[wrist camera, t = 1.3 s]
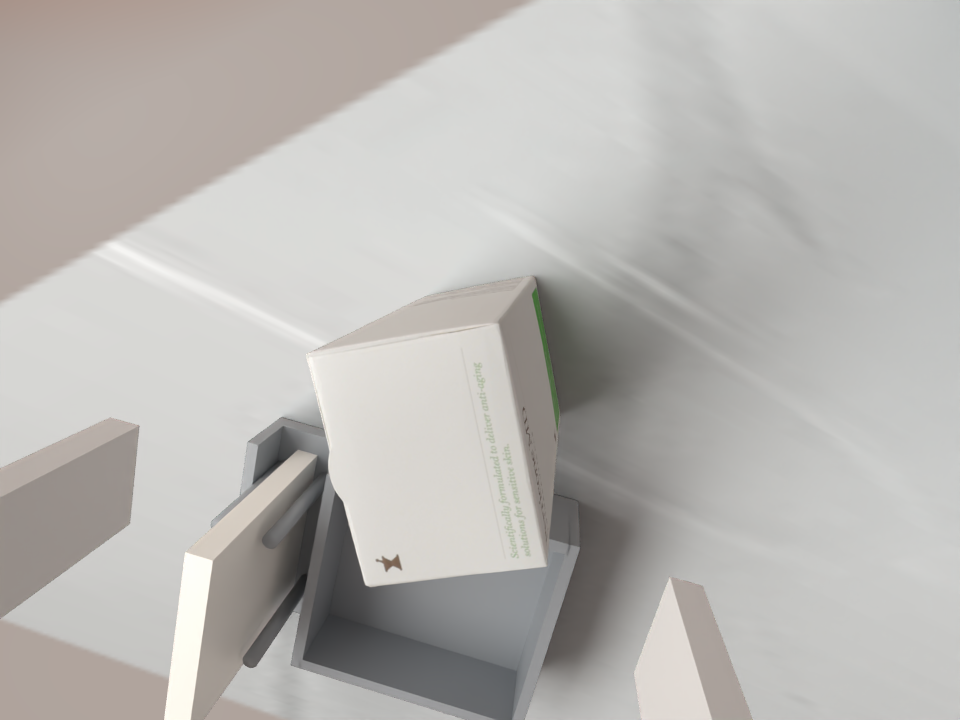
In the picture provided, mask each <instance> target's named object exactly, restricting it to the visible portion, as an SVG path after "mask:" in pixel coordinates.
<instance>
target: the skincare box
mask: <svg viewBox="0 0 960 720" xmlns="http://www.w3.org/2000/svg"><path fill="white" fill-rule="evenodd" d="M306 359H307V362H308V365H309V368H310V372H311V376H312V380H313V384H314V388H315V393H316V397H317V401H318V405H319V409H320V413H321V418H322V422H323V426H324V430H325V434H326V438H327V442H328V447H329V451H330V453H329V459H328V470H329V475H330V479H331V482H332V485H333V487H334V490H335V491H336V493H337V494H338V496H339V497H340V498H341V500H342V501H343V503H344V507H345V511H346V515H347V519H348V522H349V526H350V530H351V534H352V538H353V541H354V545H355V549H356V553H357V557H358V560H359V564H360V567H361V571H362V575H363V579H364V582H365V585H366V586H369V587H375V586H382V585H391V584H400V583H408V582H417V581H425V580H433V579H440V578H448V577H456V576H464V575H473V574H483V573H493V572H503V571H513V570H522V569H531V568H540V567H547V565H548V548H549V533H550V525H551V514H552V502H553V492H554V480H555V468H556V457H557V446H558V436H559V425H560V416H561V415H560V408H559V403H558V398H557V392H556V386H555V381H554V375H553V370H552V365H551V359H550V354H549V349H548V344H547V339H546V334H545V328H544V323H543V318H542V313H541V307H540V301H539V296H538V290H537V284H536V279H535V277H534V276H526V277H520V278H514V279H509V280H504V281H498V282H493V283H488V284H483V285H478V286H473V287H468V288H463V289H458V290H453V291H448V292H443V293H439V294H434V295H429V296H425V297H423V298H421V299H418V300H416V301H414V302H412V303H410V304H408V305H406V306H404V307H402V308H400V309H398V310H396V311H394V312H392V313H390V314H388V315H386V316H384V317H382V318H380V319H378V320H375V321H373V322H371V323H369V324H367V325H365V326H363V327H361V328H360V329H357V330H355V331H353V332H351V333H349V334H347V335H345V336H343V337H341V338H339V339H337V340H335V341H333V342H331V343H329V344H326V345H324V346H322V347H320V348H318V349H316V350H314V351H311V352H309V353H307V355H306Z"/></svg>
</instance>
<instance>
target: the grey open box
mask: <svg viewBox="0 0 960 720" xmlns="http://www.w3.org/2000/svg"><path fill="white" fill-rule="evenodd" d="M329 453H330V451H329V447H328V442H327V438H326V434H325V430H324V429H321V428H317V427H314V426H310V425H307V424H303V423H300V422H296V421H293V420H289V419H286V418H282V417H281V418H279V419H278V420H277V421H275V422H274V423H273V424H271V425H270V426H269V427H267V428H266V429H265V430H263V431H262V432H260V433H259V434H258V435H256V436H255V437H254V438H252V439H251V440H250V441H248V442H247V449H246V456H245V463H244V469H243V476H242V483H241V489H240V496H239V497H238V498H237V499H236V500H235V501H233V502H232V503H231V504H230V505H229V506H228V507H227V508H226V509H224V510H223V511H222V512H221V513H220V514H219V515H218V516H217V517H215V518H214V519H213V520H212V521H211V529H210V530H209V531H208V532H207V533H206V534H205V535H204V536H203V537H202V538H200V539H199V540H198V541H197V542H196V543H195V544H194V545H193V546H192V547H191V548H189V549H188V550H187V551H186V552H185V558H184V566H183V574H182V582H181V590H180V598H179V606H178V614H177V622H176V630H175V638H174V646H173V654H172V662H171V670H170V678H169V686H168V694H167V702H166V710H165V718H164V720H204V719H205V717H206V716H207V715H208V713H209V712H210V710H211V709H212V708H213V706H214V705H215V703H216V702H217V701H218V699H219V698H220V696H221V695H222V693H223V692H224V691H225V689H226V688H227V686H228V685H229V684H230V682H231V681H232V679H233V678H234V676H235V675H236V674H237V672H238V671H239V669H240V668H241V666H242V665H243V664H244V665H245V666H247V667H249V668H254V667H256V666H257V664H258V663H259V661H260V660H261V658H262V657H263V655H264V654H265V652H266V651H267V649H268V648H269V646H270V645H271V643H272V642H273V640H274V639H275V637H276V636H277V634H278V633H279V631H280V630H281V628H282V627H283V625H284V624H285V622H286V621H287V619H288V618H289V616H290V615H291V613H292V612H296V613H300V618H299V623H298V628H297V634H296V639H295V644H294V650H293V655H292V660H291V666H294V667H298V668H301V669H304V670H307V671H311V672H314V673H317V674H320V675H323V676H327V677H330V678H333V679H336V680H340V681H343V682H346V683H349V684H352V685H356V686H359V687H362V688H365V689H369V690H372V691H375V692H378V693H381V694H385V695H388V696H391V697H394V698H397V699H401V700H404V701H407V702H410V703H414V704H417V705H420V706H423V707H426V708H430V709H433V710H436V711H439V712H443V713H446V714H449V715H452V716H455V717H459V718H462V719H465V720H525V717H526V714H527V711H528V708H529V705H530V702H531V699H532V695H533V692H534V689H535V686H536V683H537V680H538V677H539V674H540V671H541V668H542V665H543V661H544V658H545V655H546V652H547V649H548V646H549V643H550V640H551V637H552V634H553V631H554V627H555V624H556V621H557V618H558V615H559V612H560V609H561V606H562V603H563V600H564V597H565V593H566V590H567V587H568V584H569V581H570V578H571V575H572V572H573V569H574V566H575V563H576V559H577V556H578V553H579V550H580V531H579V510H578V501H576V500H573V499H569V498H566V497H562V496H559V495H555V494H553V502H552V514H551V525H550V533H549V548H548V565H547V567H540V568H531V569H522V570H513V571H503V572H493V573H483V574H473V575H464V576H456V577H448V578H440V579H433V580H425V581H417V582H408V583H400V584H391V585H382V586H375V587H369V586H366V585H365V582H364V579H363V575H362V571H361V567H360V564H359V560H358V557H357V553H356V549H355V545H354V541H353V538H352V534H351V530H350V526H349V522H348V519H347V515H346V511H345V507H344V503H343V501H342V500H341V498H340V497H339V496H338V494H337V493H336V491H335V490H334V487H333V485H332V482H331V479H330V475H329V470H328V459H329Z"/></svg>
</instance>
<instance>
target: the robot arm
mask: <svg viewBox="0 0 960 720" xmlns="http://www.w3.org/2000/svg"><path fill="white" fill-rule="evenodd" d="M138 435H139V425H135V424H132V423H128V422H125V421H121V420H118V419H114V418H111V417H110V418H108V419H106V420H104V421H102V422H99V423H97V424H95V425H93V426H91V427H89V428H86V429H84V430H82V431H80V432H78V433H76V434H73V435H71V436H69V437H67V438H65V439H63V440H61V441H58V442H56V443H54V444H52V445H50V446H48V447H45V448H43V449H41V450H39V451H37V452H35V453H32V454H30V455H28V456H26V457H24V458H22V459H20V460H17V461H15V462H13V463H11V464H9V465H7V466H4V467H2V468H0V619H1V618H2V617H3V616H5V615H6V614H7V613H9V612H10V611H12V610H13V609H14V608H16V607H17V606H18V605H20V604H21V603H22V602H24V601H25V600H27V599H28V598H29V597H31V596H32V595H33V594H35V593H36V592H37V591H39V590H40V589H42V588H43V587H44V586H46V585H47V584H48V583H50V582H51V581H53V580H54V579H55V578H57V577H58V576H59V575H61V574H62V573H63V572H65V571H66V570H68V569H69V568H70V567H72V566H73V565H74V564H76V563H77V562H78V561H80V560H81V559H83V558H84V557H85V556H87V555H88V554H89V553H91V552H92V551H94V550H95V549H96V548H98V547H99V546H100V545H102V544H103V543H104V542H106V541H107V540H109V539H110V538H111V537H113V536H114V535H115V534H117V533H118V532H119V531H121V530H122V529H124V528H125V527H126V526H128V525H129V524H130V518H131V507H132V497H133V487H134V476H135V466H136V456H137V445H138ZM634 677H635V683H636V689H637V696H638V702H639V708H640V715H641V720H753V719H752V716H751V713H750V711H749V708H748V705H747V703H746V700H745V697H744V695H743V692H742V689H741V687H740V684H739V681H738V679H737V676H736V674H735V671H734V668H733V666H732V663H731V660H730V658H729V655H728V652H727V650H726V647H725V644H724V642H723V639H722V636H721V634H720V631H719V628H718V626H717V623H716V620H715V618H714V615H713V612H712V610H711V607H710V604H709V602H708V599H707V596H706V594H705V591H704V588H703V586H701V585H698V584H694V583H691V582H687V581H684V580H680V579H677V578H673V577H669V580H668V582H667V585H666V588H665V590H664V593H663V596H662V598H661V601H660V604H659V607H658V609H657V612H656V615H655V617H654V620H653V623H652V625H651V628H650V631H649V633H648V636H647V639H646V642H645V644H644V647H643V650H642V652H641V655H640V658H639V660H638V663H637V666H636V669H635V671H634Z"/></svg>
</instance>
